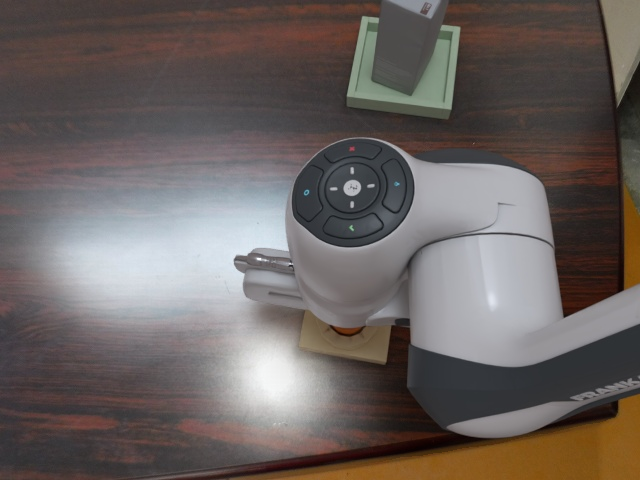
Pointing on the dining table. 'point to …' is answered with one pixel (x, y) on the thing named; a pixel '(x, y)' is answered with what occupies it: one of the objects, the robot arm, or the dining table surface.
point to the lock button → (347, 330)
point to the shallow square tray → (430, 91)
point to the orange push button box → (345, 340)
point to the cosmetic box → (406, 41)
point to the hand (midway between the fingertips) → (347, 311)
